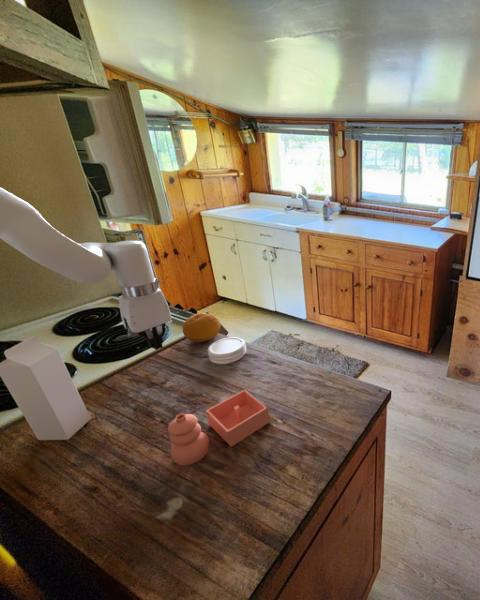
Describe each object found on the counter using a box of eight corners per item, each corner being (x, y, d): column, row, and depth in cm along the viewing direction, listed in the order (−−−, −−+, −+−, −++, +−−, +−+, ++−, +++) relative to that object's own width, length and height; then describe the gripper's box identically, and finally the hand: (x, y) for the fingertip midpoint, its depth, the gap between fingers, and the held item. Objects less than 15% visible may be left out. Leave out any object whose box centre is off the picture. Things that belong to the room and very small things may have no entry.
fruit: (177, 341, 102) (171, 319, 99) (207, 327, 111) (202, 306, 108) (200, 350, 99) (195, 327, 96) (229, 334, 108) (225, 312, 104)
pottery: (247, 402, 80) (241, 370, 75) (269, 421, 75) (264, 387, 70) (164, 450, 66) (151, 414, 62) (184, 477, 61) (171, 439, 57)
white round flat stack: (253, 353, 99) (252, 343, 97) (222, 369, 91) (220, 359, 89) (234, 342, 103) (232, 333, 102) (202, 357, 96) (200, 347, 94)
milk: (91, 418, 73) (52, 334, 64) (68, 440, 68) (21, 352, 58) (62, 419, 73) (19, 334, 64) (36, 440, 67) (-15, 351, 58)
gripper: (161, 277, 93) (176, 332, 101) (97, 294, 81) (119, 355, 89) (177, 283, 90) (190, 339, 98) (112, 301, 78) (134, 364, 85)
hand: (156, 347), depth 93 cm, fingers closed
